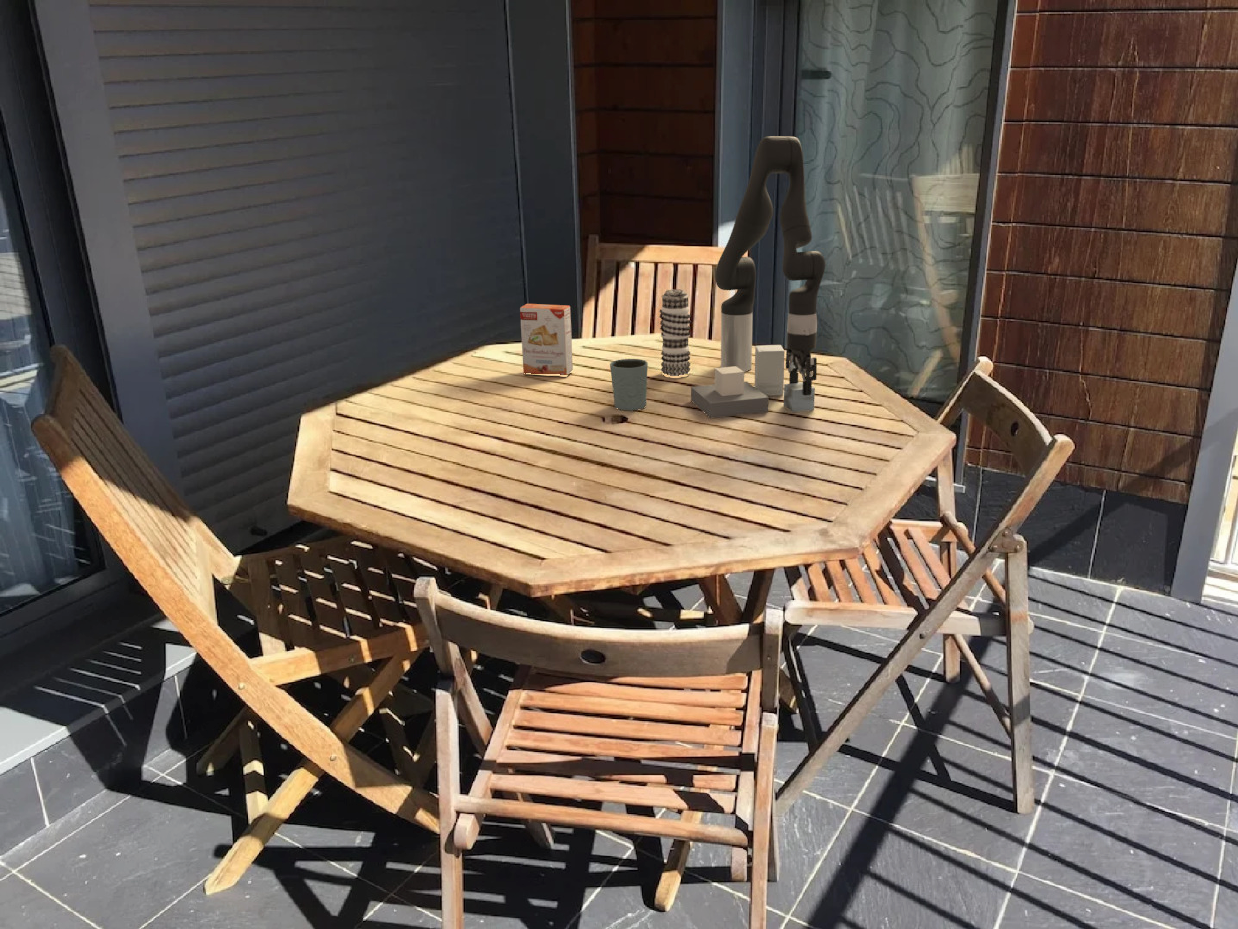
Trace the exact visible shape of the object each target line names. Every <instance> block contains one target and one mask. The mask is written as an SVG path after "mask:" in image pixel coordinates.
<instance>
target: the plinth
mask: <svg viewBox="0 0 1238 929" xmlns="http://www.w3.org/2000/svg"><path fill="white" fill-rule="evenodd" d="M769 398H770V397H769V396H766V395H765V394H763V393H762V392H761V391H759V390H758V389H756V388H755V385H753V384H751V383H750V382H748V381H744V394H738V395H728V396H722V395H720V394H719V393H718V392H717V391H715V384H709V385H705V384H704V385H695V386H690V401H691V400H692V401H693V402H694V403H693V402H692V401H691V402H692V403H693V404H694V405H695V406H696V405H697V406H698V407H699V408H700V409H699V408H698V407H697V406H696V407H697V408H698V409H699V410H701V411H702V412H703V411H704V412H705V413H704V412H703V413H704V415H706V414H707V415H706V416H707V417H708V416H709V418H710V419H712V418H711V417H716V418H725V417H733V416H742V415H743V416H744V415H750V414H752V415H753V414H754V415H755V414H761V413H768V412H769V404H770V403H769Z"/></svg>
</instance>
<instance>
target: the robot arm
mask: <svg viewBox="0 0 1238 929" xmlns="http://www.w3.org/2000/svg"><path fill="white" fill-rule="evenodd" d="M804 163H805V162H804V153H803V147H802V145H801V142H800V140H799V138H798V137H795V136H786V135H785V136H782V135H780V136H778V135H777V136H775V135H773V136H771V135H770V136H765V137H763V138H762V139H761V140H760V141H759V143H758V145H757V148H756V152H755V155H754V159H753V163H752V168H751V172H750V177H749V179H748V183H747V185H746V186H747V187H746V190H745V193H744V195H743V199H742V201H741V203H740V206H739V208H738V212H737V214H736V216H735V217H736V218H735V221H734V225H733V227H732V230H731V233H730V235H729V238H728V241H727V243H726V245H725V247H724V249H723V251H722V253H721V256H720V258H719V260H718V262H717V265H716V269H715V275H714V276H715V277H714V278H715V283H716V286H717V287H718V288H719V289H720V290H722V291H736V292H735V293H734V294H733V295H732V296H731V297H729V298H728V299H726V300H724V301H723V302H722V303H721V304H720V305H721V306H720V325H721V326H720V368H723V367H733V366H736V367H738V368H739V369H741V370H742V371H744V373H745V372H749V371H751V370H752V364H753V363H752V357H753V356H752V355H753V353H752V352H753V314H754V313H753V310H754V308H753V307H754V304H755V293H756V292H755V291H756V279H757V278H756V277H757V270H756V264H755V261H754V260H753V259H752V258H751V257H750V256H745V254H747V252H748V251H749V250H750V249H752V248H753V247H754V246H755V245H756V244H757V243H758V242H760V240H762V238H763V237H764V236H765V235H766V233H767V231H768V229H769V226H770V223H771V221H772V217H773V216H774V207H773V203H772V199H771V198H770V195H769V192H768V189H767V181H768V178H769V177H770V175H771V174H786V175H788V180H789V187H788V190H787V193H786V196H785V199H784V201H783V202H782V205H781V208H780V211H779V212H780V213H779V220H780V221H779V222H780V226H781V231H782V237H783V259H782V273H783V276H784V277H785V278H786V279H787V280H789V281H792V282H793V281H796V282H797V281H805V283H804V284H803V285H802V286H801V287H798V288H795V289H793V290H791V291H790V292H789V295H788V316H787V326H786V327H787V328H786V329H787V330H786V351H785V352H786V354H785V369H786V370H787V371H788V373H789V376H788V377H789V383H788V384H792V383H799V374H800V375H801V377H802V382H803V391H802V394H803V395H805V396H806V395H811V390H812V387H813V386H812V384H813V381H816V380H817V366H818V365H817V364H818V363H817V361H818V360H817V357H816V356H814V357H813V356H812V354H811V352H812V350H815V349H816V348H817V334H818V333H817V330H818V319H817V318H818V317H817V307H818V304H817V303H818V301H817V300H818V294H819V290H820V286H821V284H822V283H821V282H822V281H823V277H824V273H825V270H826V260H825V257H824V255H823V254H822V253H821V251H818V250H811V251H798V250H797V249H800V248H802V247H805V246H807V245H809V244H810V242H812V239H813V234H812V230H811V224H810V220H809V215H808V210H807V203H806V184H805V182H806V181H805V179H806V178H805V165H804ZM750 369H751V370H750ZM748 370H749V371H748Z"/></svg>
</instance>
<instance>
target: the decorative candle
mask: <svg viewBox="0 0 1238 929" xmlns="http://www.w3.org/2000/svg"><path fill="white" fill-rule="evenodd" d="M661 298H662V300H661V302H662V304H661V305H662V306H661V309H659V311H658V312H659V313H660V314H659V318H660V322H659V325H660V328H659V329H660V331H661V333H660V337H661V338H662V345H661V346H662V347H661V349H662V350H661V352H660V353H661V354H660V355H661V358H660V359H661V360H662V361H661V363H660V365H661V369H660V371H661V372H663V373H664V374H667V375H670V376H679V375H684V374H689V373H688V372H690V371H691V368H690V367H691V362H690V359H691V356H690V354H691V351H690V345H689V338H690V336H691V332H689V331H690V330H691V327H690V326H689V325H690V324H691V322H692V321H691V320H690V318H691V317H692V315H691V314H689V311H690V306H689V298H690V294H688V293H687V292H686V290H684V289H679V288H675V289H668V290H666V291H665V292H664V294H663V295H661Z"/></svg>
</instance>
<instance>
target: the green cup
mask: <svg viewBox="0 0 1238 929" xmlns="http://www.w3.org/2000/svg"><path fill="white" fill-rule="evenodd" d="M648 365H649V363H648V361H646V360H645V359H641V358H623V359H616V360H613V361H611V362H610V363H609V367H610V375H611V386H612V393H613V394H612V395H613V402H614V408H615V407H616V408H618V409H622V410H628V411H627V412H634V411H633V410H637V411H639V410H638V409H641V410H643V409H642V408H644V407H645V406H646V407H647V394H648V392H647V391H648V388H647V386H648V367H649V366H648ZM646 407H645V408H646ZM616 408H615V409H616ZM645 408H644V409H645ZM618 409H617V410H618ZM622 410H621V411H622ZM629 410H630V411H629Z"/></svg>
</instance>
